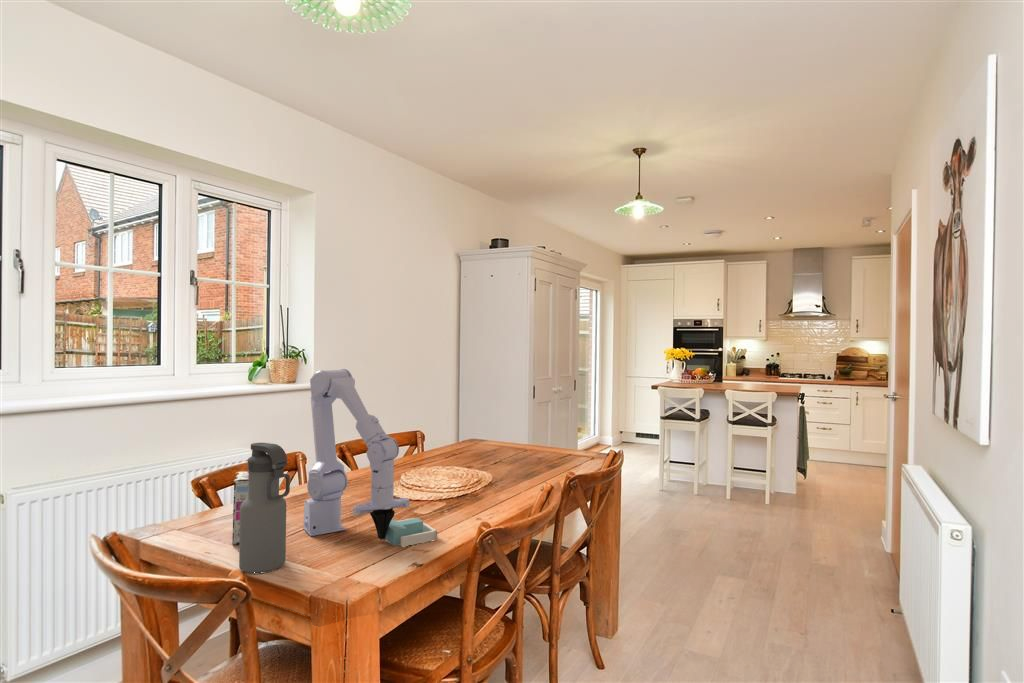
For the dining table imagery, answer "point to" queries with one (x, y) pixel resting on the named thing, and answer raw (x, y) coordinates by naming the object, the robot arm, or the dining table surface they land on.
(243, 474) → the candy bar box
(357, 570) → the dining table surface
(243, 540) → the water bottle
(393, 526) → the t block
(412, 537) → the white u-shaped bracket
